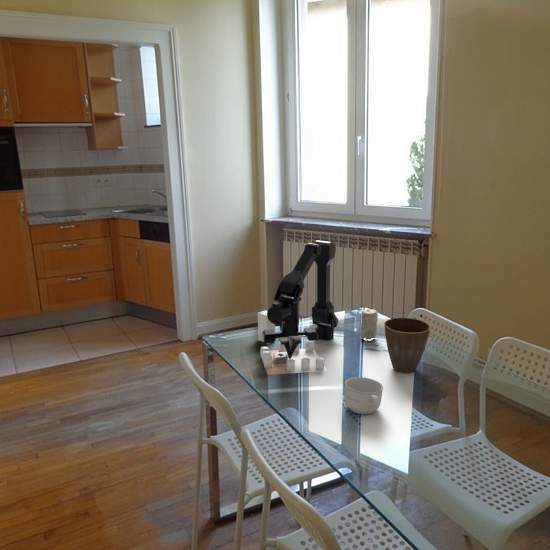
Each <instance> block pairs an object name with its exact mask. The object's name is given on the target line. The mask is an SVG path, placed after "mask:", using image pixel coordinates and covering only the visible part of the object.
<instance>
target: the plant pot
mask: <svg viewBox="0 0 550 550" xmlns="http://www.w3.org/2000/svg"><path fill="white" fill-rule="evenodd" d="M383 325H384V335H385V342H386V347H387V351H388V356H389V359H390V363H391V366H392V369H393V368H394V369H393V370H394V371H395V370H396V372H398V373H400V374H412V373H415V372H416V369H417V368H418V366H419V364H420V362H421V359H422V357H423V354H424V353H425V350H426V346H427V343H428V338H429V336H430V331H431V326H430V324H429V323H427V322H425V321H423V320H421V319H415V318H409V317H394V318H389V319H387V320H385V321H384V322H383Z"/></svg>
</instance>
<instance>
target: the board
mask: <svg viewBox="0 0 550 550" xmlns="http://www.w3.org/2000/svg"><path fill="white" fill-rule="evenodd" d="M300 344H301V343H300ZM300 344H298V346H297V347H296V349H295V351H294V353H293V355H292V357H291V359H289V358H288V360H287V363H286V364H275V362H274V360H273V353H277V352H286V348H285V346H284V344H281V343H280V341H278V346H277V347H278V349H274V350H273V349H272V350H270V348H269V346H261V347H260V350H259V353H260V358H261V360H262V362H261V363H263V368H264V369H265V371H266V374H267V376H268V375H269V376H270V375H284V374H296V373H297V374H299V373H302V374H303V373H317V372H328V371H327V368H326V367H325V358H323V357H321V356H320V357H319V355H318V353H317V352H316V350H315V348H314V341H309V340H308V339H307V340H305V344H304V345H305V348H300V347H301V346H300ZM286 354H287V352H286ZM287 356H288V355H287Z"/></svg>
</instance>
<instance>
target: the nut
mask: <svg viewBox="0 0 550 550" xmlns="http://www.w3.org/2000/svg"><path fill="white" fill-rule="evenodd" d="M273 360H274V362H275V364H286V363H287V360H288V356H287V354H286V352H277V353H273Z"/></svg>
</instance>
